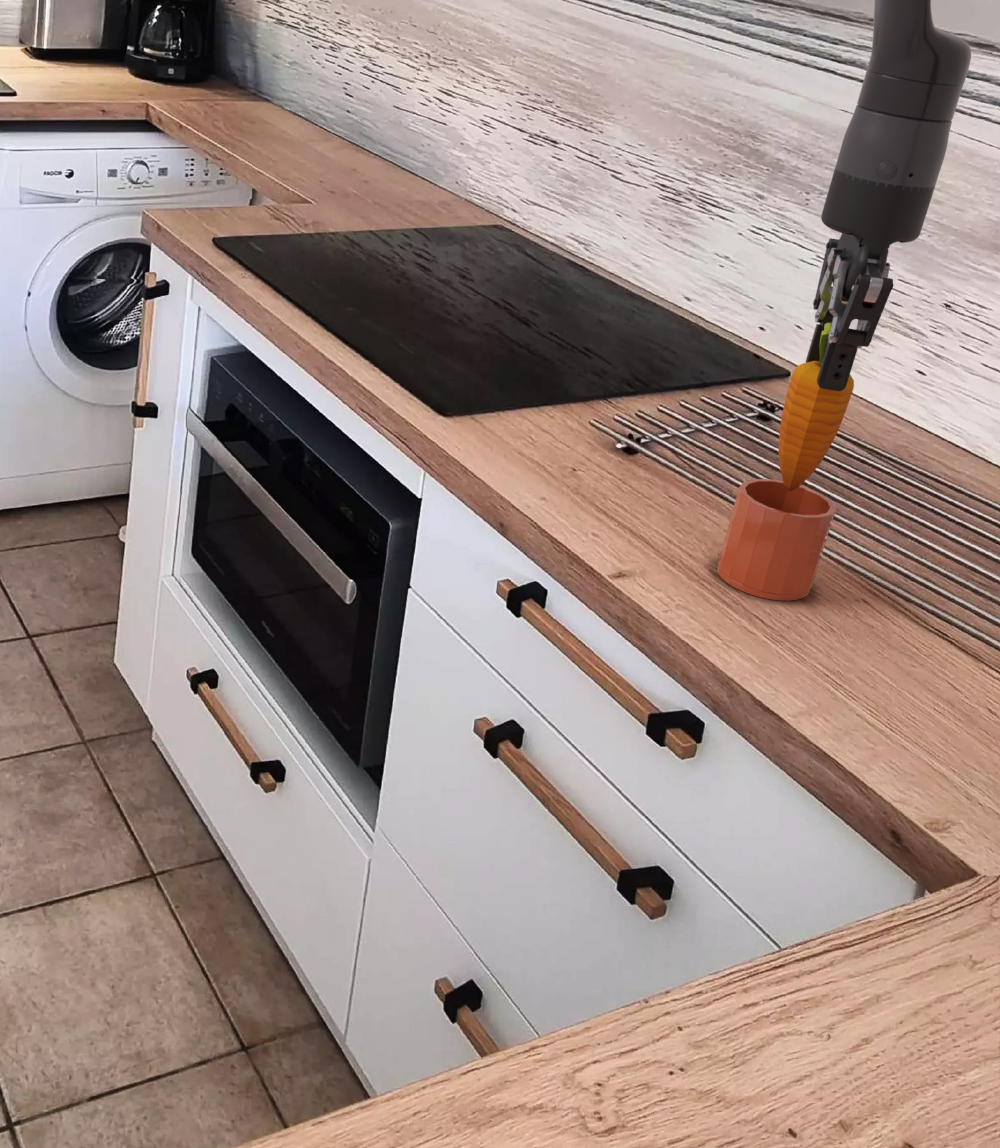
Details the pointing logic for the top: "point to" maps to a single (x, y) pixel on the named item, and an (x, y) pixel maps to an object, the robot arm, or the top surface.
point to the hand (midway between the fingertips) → (824, 377)
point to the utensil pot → (775, 539)
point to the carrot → (809, 420)
